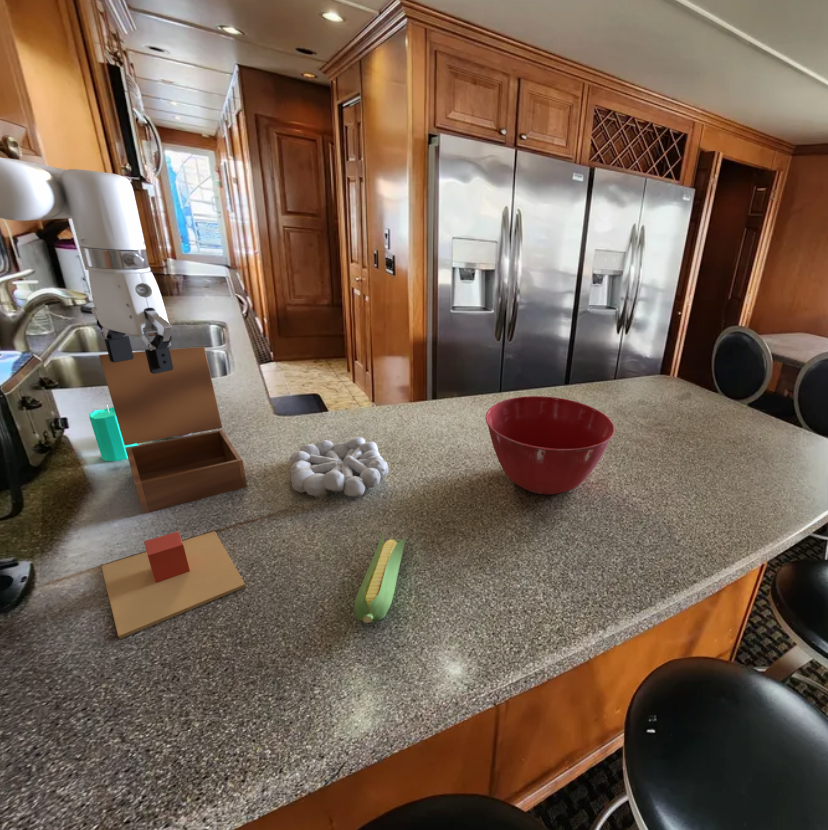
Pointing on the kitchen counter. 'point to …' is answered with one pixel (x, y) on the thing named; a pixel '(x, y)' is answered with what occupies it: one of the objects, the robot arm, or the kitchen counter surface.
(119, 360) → the robot arm
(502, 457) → the mixing bowl
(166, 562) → the block
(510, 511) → the kitchen counter surface
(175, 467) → the open wooden box
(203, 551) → the mat
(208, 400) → the lid
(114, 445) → the candle
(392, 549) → the edible corn
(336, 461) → the campfire
